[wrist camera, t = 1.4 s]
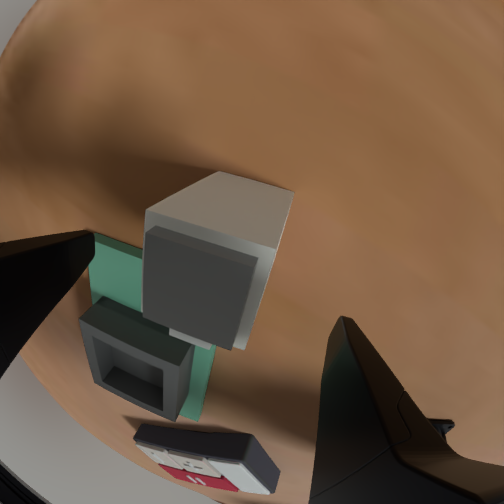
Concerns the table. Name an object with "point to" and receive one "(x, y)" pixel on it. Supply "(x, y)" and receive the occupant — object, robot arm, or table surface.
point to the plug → (211, 257)
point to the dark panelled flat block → (210, 458)
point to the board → (138, 340)
